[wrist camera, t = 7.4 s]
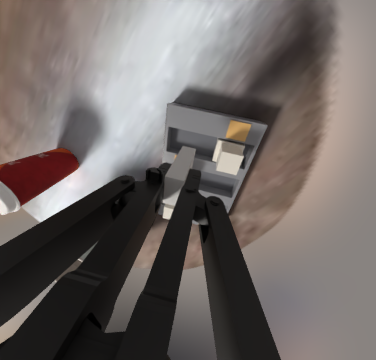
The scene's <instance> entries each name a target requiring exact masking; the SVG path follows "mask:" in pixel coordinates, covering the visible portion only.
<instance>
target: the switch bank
mask: <svg viewBox="0 0 376 360" xmlns="http://www.w3.org/2000/svg"><path fill="white" fill-rule="evenodd" d="M267 126H268V125H267V124H265V123H264V122H262V121H259V120H254V119H249V118H244V117H240V116H235V115H230V114H226V113H221V112H216V111H212V110H207V109H202V108H198V107H193V106H188V105H183V104H179V103H174V102H172V103H168V104H167V111H166V123H165V135H164V147H163V159H162V164H163V163H168V164H172V163H173V162H174V160H175V158H176V157H177V155H178V153H179V152H180V150H181V148H182V147H183V146H186V147H190V148H194V149H196V151H195V156H194V161H193V166H192V169H195V170H200V172H201V179H200V184H199V193H200V194H201V195H202V196H204V197H206V198H207V197H209V196H216V197H218V198H220V199H221V200H222V201H223V202H224V205H225V208H226V210H227V213H228V212H229V210H230V208H231V206H232V204H233V201H234V199H235V197H236V195H237V192H238V190H239V188H240V186H241V184H242V181H243V179H244V177H245V175H246V172H247V170H248V168H249V166H250V164H251V161H252V159H253V157H254V155H255V153H256V150H257V148H258V146H259V144H260V141H261V139H262V137H263V135H264V133H265V130H266V128H267ZM218 138H222V139H226V140H231V141H235V142H240V143H244V145H245V148H244V150H243V156H244V158H243V160H242V162H241V165H240V167H239V170H238V172H237V175H233V174H229V173H225V172H220V171H216V162H215V161H212V158H213V153H214V150H215V146H216V143H217V139H218ZM162 202H163V199H162V201H161V207H160V209H159V211H158V214H159V215H163V212H164V206H165V203H162ZM192 223H194V224H198V225H199V223H197V222H196V221H194V220H193V221H192Z"/></svg>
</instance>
